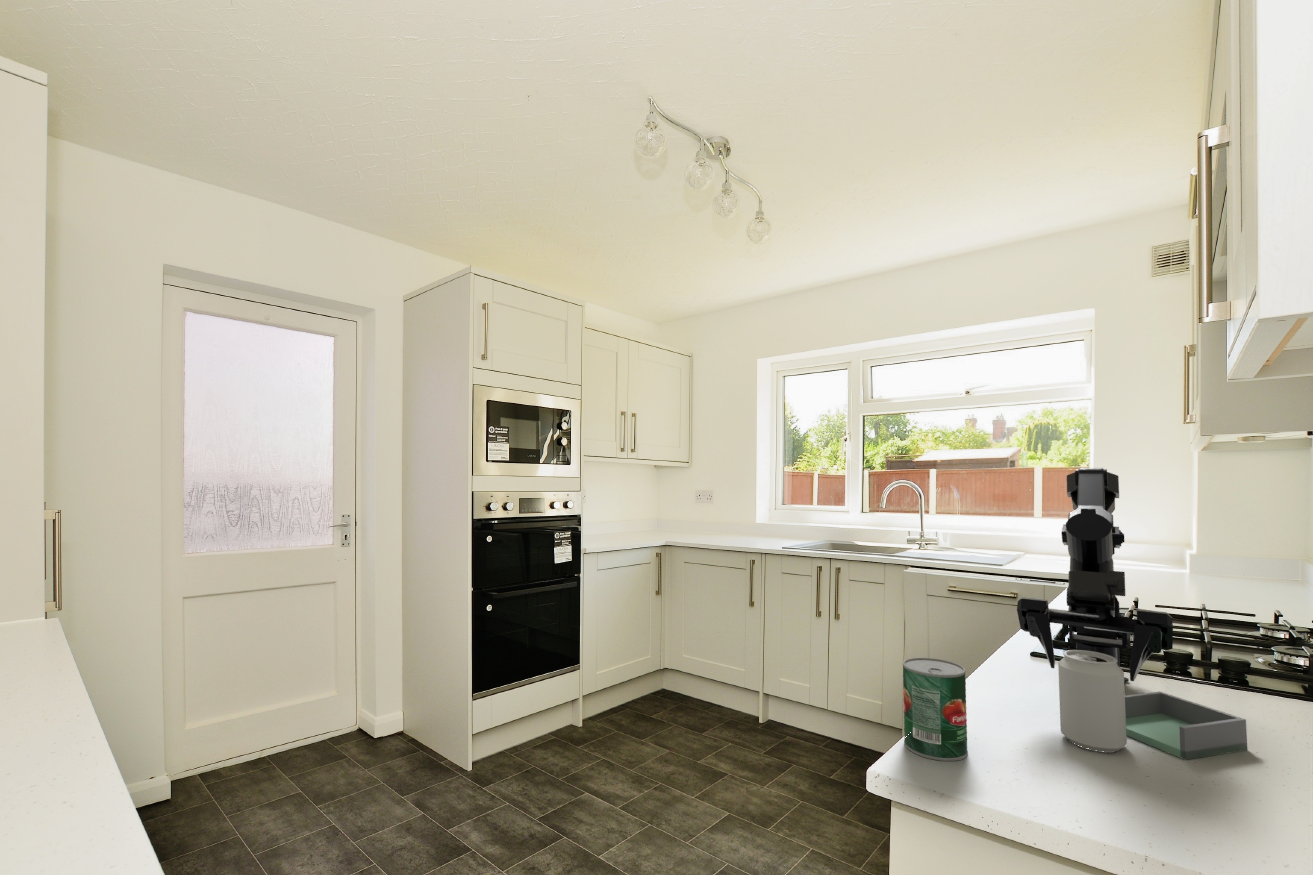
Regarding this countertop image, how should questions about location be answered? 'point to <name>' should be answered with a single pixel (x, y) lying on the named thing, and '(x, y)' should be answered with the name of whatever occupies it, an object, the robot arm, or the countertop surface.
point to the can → (1092, 700)
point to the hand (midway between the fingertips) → (1090, 672)
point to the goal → (1183, 726)
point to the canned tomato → (935, 708)
